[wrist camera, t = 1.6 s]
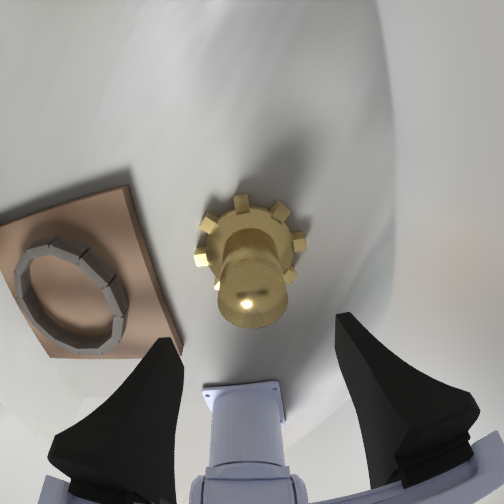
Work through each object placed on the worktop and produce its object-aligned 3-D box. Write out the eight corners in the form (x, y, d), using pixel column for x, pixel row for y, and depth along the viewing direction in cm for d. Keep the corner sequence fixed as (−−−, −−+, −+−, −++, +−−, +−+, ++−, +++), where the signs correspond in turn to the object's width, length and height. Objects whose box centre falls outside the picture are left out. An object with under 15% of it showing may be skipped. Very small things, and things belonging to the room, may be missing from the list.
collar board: (183, 346, 26) (178, 369, 23) (54, 350, 26) (44, 367, 24) (128, 184, 19) (112, 195, 16) (-8, 228, 20) (-25, 240, 17)
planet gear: (306, 281, 23) (326, 342, 17) (209, 295, 23) (200, 359, 17) (297, 185, 19) (322, 222, 13) (185, 203, 20) (160, 247, 14)
